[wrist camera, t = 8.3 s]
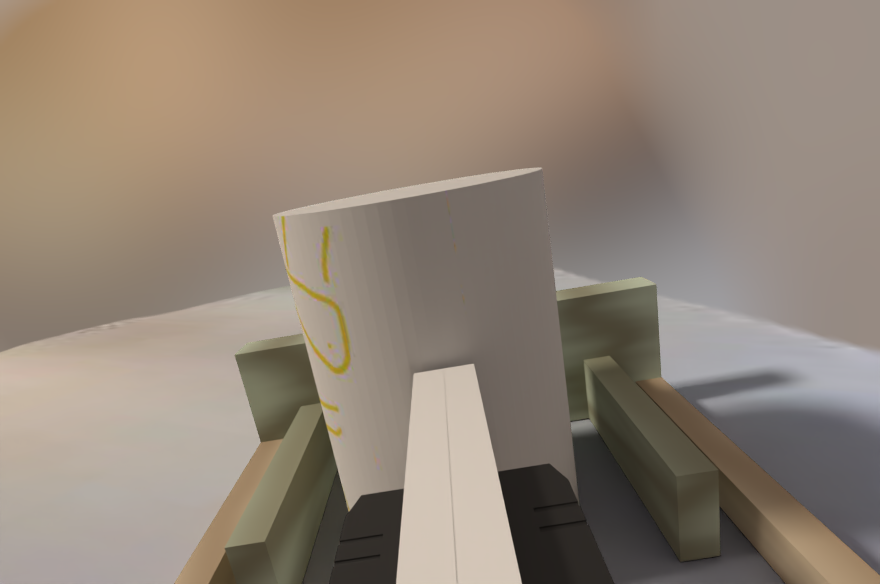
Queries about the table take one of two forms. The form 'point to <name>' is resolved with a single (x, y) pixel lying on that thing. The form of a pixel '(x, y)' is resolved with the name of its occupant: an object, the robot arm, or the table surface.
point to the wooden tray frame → (589, 396)
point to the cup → (431, 317)
